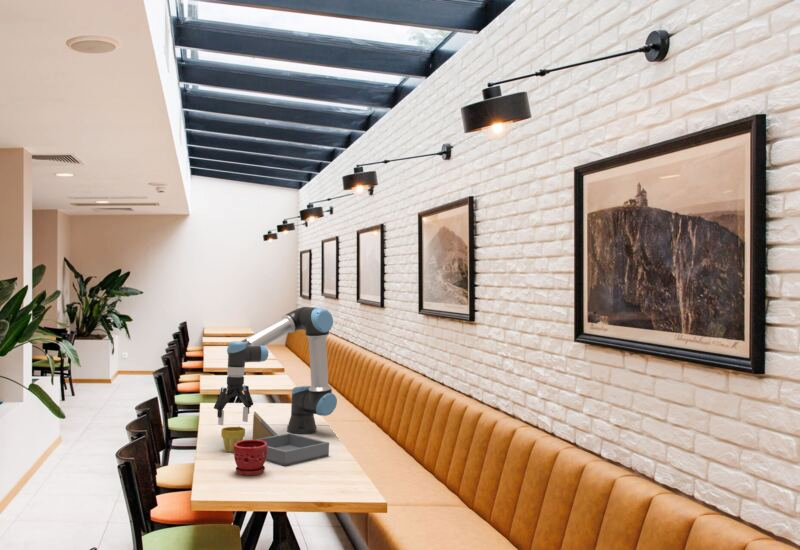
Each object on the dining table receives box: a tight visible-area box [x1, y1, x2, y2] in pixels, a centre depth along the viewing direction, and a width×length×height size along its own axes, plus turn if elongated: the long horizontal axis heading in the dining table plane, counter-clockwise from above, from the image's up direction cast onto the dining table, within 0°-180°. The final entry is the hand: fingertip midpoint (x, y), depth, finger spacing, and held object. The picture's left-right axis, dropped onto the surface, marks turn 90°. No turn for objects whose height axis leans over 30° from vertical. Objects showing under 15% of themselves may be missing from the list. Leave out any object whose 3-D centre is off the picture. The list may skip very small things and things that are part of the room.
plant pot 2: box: [233, 439, 267, 476], centre depth 287 cm, size 13×13×12 cm
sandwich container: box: [252, 411, 278, 440], centre depth 338 cm, size 9×15×15 cm, turn 99°
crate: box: [248, 432, 330, 467], centre depth 318 cm, size 26×26×6 cm
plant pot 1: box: [221, 426, 246, 453], centre depth 323 cm, size 10×10×10 cm
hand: (233, 423), depth 323 cm, fingers open, 13 cm apart
